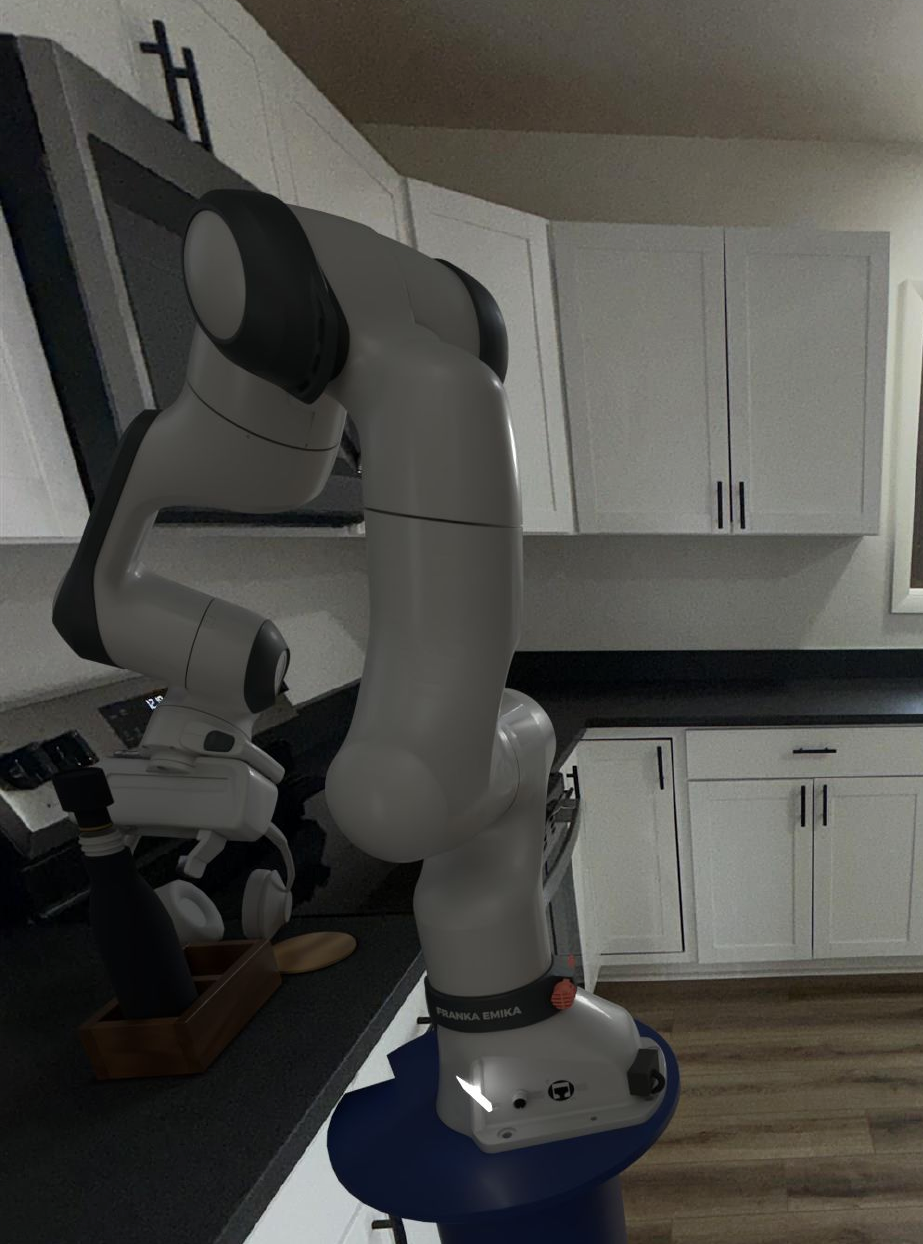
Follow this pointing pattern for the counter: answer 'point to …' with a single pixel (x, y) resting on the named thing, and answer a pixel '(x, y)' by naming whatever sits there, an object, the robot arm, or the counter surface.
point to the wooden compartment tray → (186, 1015)
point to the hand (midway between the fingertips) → (145, 873)
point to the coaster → (312, 951)
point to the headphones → (260, 909)
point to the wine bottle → (125, 908)
